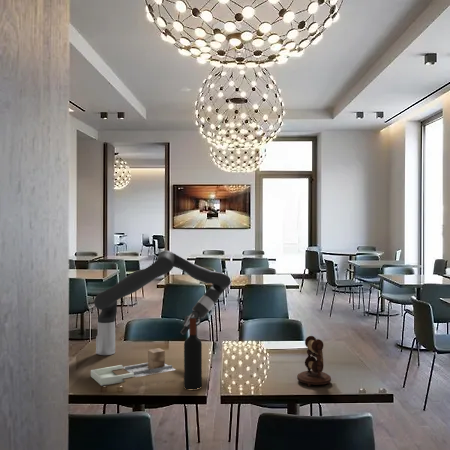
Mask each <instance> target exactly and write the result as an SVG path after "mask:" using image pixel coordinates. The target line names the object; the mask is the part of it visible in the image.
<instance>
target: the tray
mask: <svg viewBox="0 0 450 450" xmlns="http://www.w3.org/2000/svg"><path fill="white" fill-rule="evenodd" d="M123 367H124V366H123V364H118V365H113V366H107V367H102V368H95V369H90V377H91V378H92V379H93V380H94V381H95V382H96V383H98V385H100V386H101V387H104V386H108V385H114V384H118V383H123V382H126V380H124V379H128V378H134V377H135V376H134V373H129V372H127V373H123V374H117V373H115V372H114V371H116V370H117V371H118V370H122V369H124V368H123Z"/></svg>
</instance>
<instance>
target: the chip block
mask: <svg viewBox="0 0 450 450" xmlns="http://www.w3.org/2000/svg"><path fill="white" fill-rule="evenodd" d="M165 351H166V350H164V349H162V348H160V347H158V348H151V349H148V350H147V363H148V367H150V368H151V369H152V368H157V367H163V366H165V364H166V363H165V362H166V361H165V360H166V358H165V357H166V352H165Z"/></svg>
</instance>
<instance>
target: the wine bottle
mask: <svg viewBox="0 0 450 450" xmlns="http://www.w3.org/2000/svg"><path fill="white" fill-rule="evenodd" d="M202 346H203V345H202V340H201V339H200V338H199V337H198V336H197V326H196V317H190V329H189V336H188V337H187V338H186V339H185V340H184V343H183V358H184V359H183V376H184V377H183V382H184V384H183V388H184V387H185V388H186V389H185V388H184V389H185V390H187V389H197V388H200V387H201V386H202V382H203V380H202V379H203V377H202V376H203V375H202V374H203V373H202V369H203V368H202V367H203V365H202V364H203V359H202V356H203V355H202V354H203V353H202V349H203V347H202Z"/></svg>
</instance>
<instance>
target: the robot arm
mask: <svg viewBox="0 0 450 450" xmlns="http://www.w3.org/2000/svg"><path fill="white" fill-rule="evenodd" d="M173 268H177V269H179V270H181V271H182V272H184V273H186V274H187V275H189V277H191V278H192V279H194V280H197V281H199V282H202V283H204V284H211V286H210V287H209V288H208V289H207V290H206V292H205V293H204V294H203V295H202V296H201V297H200V298H199V300H198V301H197V302H196V303H195V305H194V306H193V307H192V312H191V313H190V314H189V315H185V317H184V321H183V327H182V328H181V330H180V334H181V335H183V336H184V335H186V334H187V333H188V331H190V317H196V327H197V326H199V325H201V323H202V322H201V321H200V320H201V319H205V318H206V316H207V315H208V314H209V312H210V311H211V310H212V309H213V307H214V305H215V304H216V302H217V301H218V300H219V298H220V297H221V295H222V294H223V292H224V291H225V290H226V289H227V288H228V287H230V284H231V278H230V276H229V275H227V274H225V273H222V272H220V271H213V270H210V269H208V268H205V267H202V266H200V265H197V264H196V263H193V262H191V261H189V260H188V259H186V258H183V257H182V256H180V255H177V254H176V253H174V252H172V251H170V250H162V251H160V252H159V254H158V255H157V258H156V260H155V261H154V262H153V263H151V265H149V266H147V267H145V268H142V269H138V270H135V271H133V272H131V273H129V274H128V275H127V276H126V277H124V278H123V279H121V280H119V281H118V282H117V283H116V284H114V285H112V287H109V288H108V289H106V290H104V291H101V292H99V293H98V294H97V295H95V297H94V301H93V303H94V306H95V308H96V309H98V310H101V312H100V313H99V314H98V316H97V335H96V336H95V348H96V349H95V354H96V355H99V356H111V355H115V353H116V317H117V314H118V312H117V311H118V300H120V299H122V298H124V297H128V296H130V295H131V294H134V293H135V292H138V291H139V290H141V289H142V288H144V287H145V286H147V285H148V284H150V283H151V282H152V281H154V280H156V279H157V278H159V277H161V276H163V275H166V274H168V273H169V272H171V271H172V270H173Z"/></svg>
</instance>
